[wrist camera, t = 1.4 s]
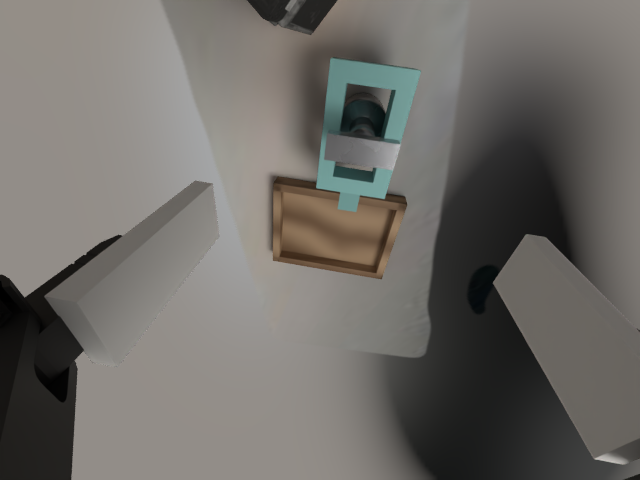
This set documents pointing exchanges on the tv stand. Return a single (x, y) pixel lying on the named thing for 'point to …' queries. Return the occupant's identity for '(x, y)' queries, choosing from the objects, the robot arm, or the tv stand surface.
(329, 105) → the teal rectangular frame
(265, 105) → the tv stand surface
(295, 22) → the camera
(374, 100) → the mallet
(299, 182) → the tray
